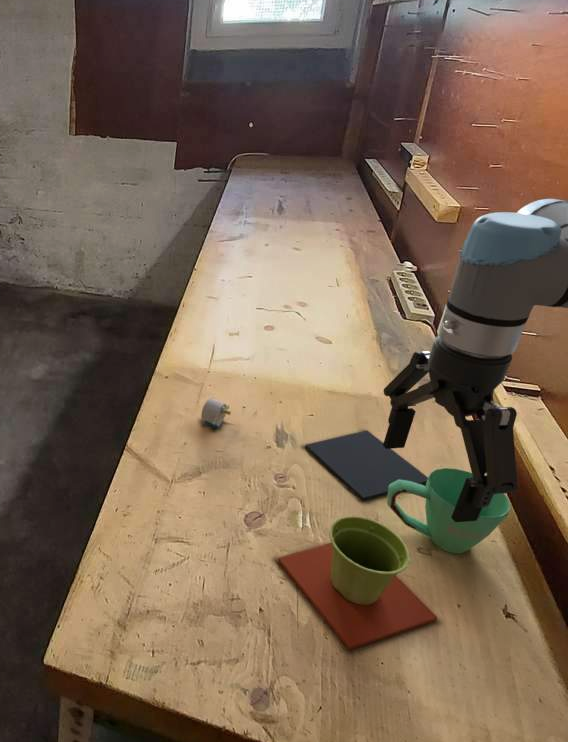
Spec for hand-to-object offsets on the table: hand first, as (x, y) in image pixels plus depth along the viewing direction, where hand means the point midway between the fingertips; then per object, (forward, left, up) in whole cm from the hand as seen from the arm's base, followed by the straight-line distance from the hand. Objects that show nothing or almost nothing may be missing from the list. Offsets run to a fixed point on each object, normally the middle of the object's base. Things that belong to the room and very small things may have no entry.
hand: (425, 480), depth 76 cm
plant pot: (-2, +9, -16) cm, 18 cm away
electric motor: (+36, +7, -16) cm, 40 cm away
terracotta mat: (-2, +9, -16) cm, 19 cm away
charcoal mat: (+18, -12, -16) cm, 27 cm away
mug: (+2, -9, -16) cm, 19 cm away
